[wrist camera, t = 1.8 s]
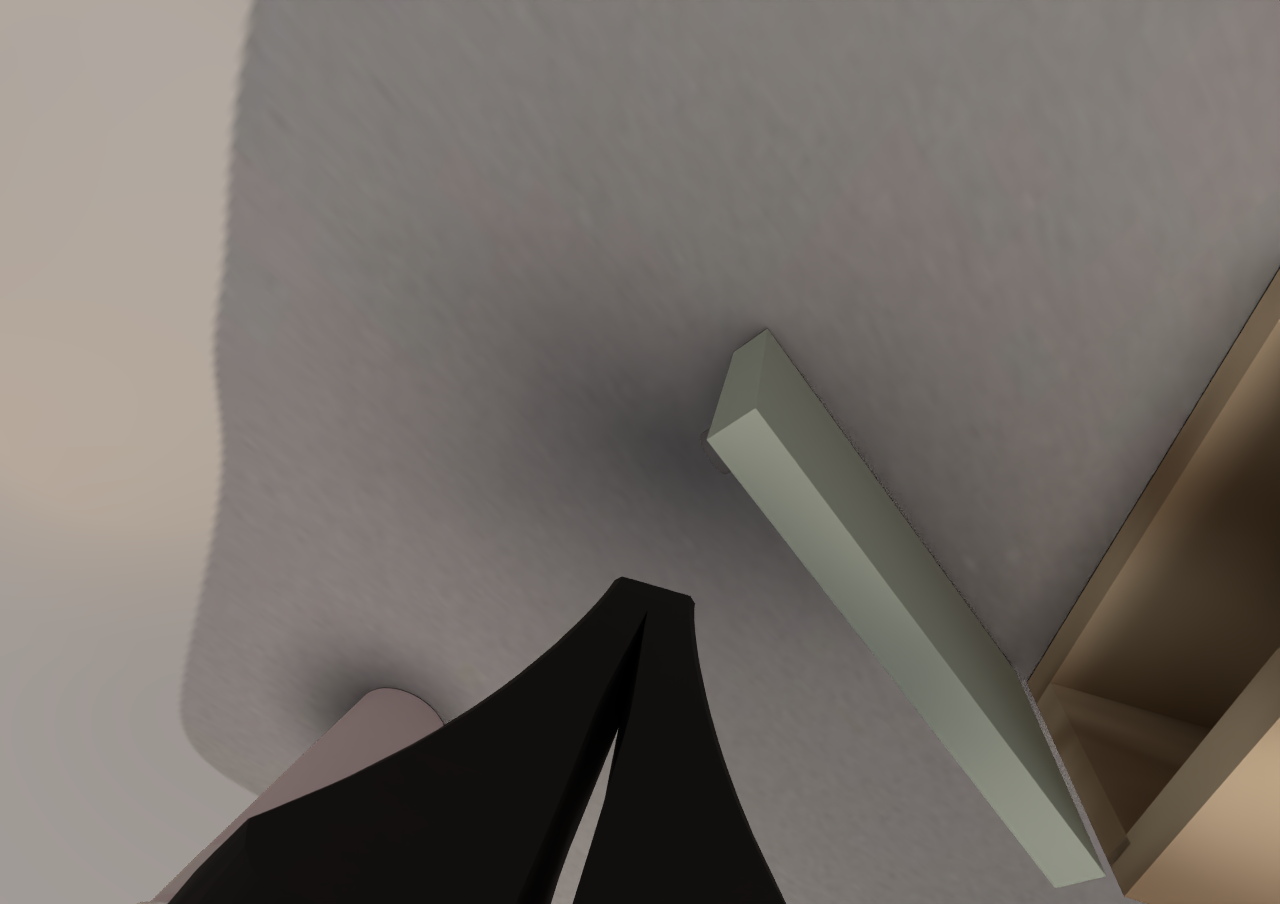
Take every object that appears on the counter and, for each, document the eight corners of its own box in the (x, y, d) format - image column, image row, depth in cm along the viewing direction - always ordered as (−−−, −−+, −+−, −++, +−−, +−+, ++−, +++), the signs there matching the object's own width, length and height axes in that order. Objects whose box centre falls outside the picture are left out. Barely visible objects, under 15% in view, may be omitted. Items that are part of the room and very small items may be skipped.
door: (1016, 672, 18) (1106, 875, 13) (951, 697, 19) (1011, 898, 14) (767, 328, 16) (755, 408, 11) (705, 372, 17) (665, 466, 11)
